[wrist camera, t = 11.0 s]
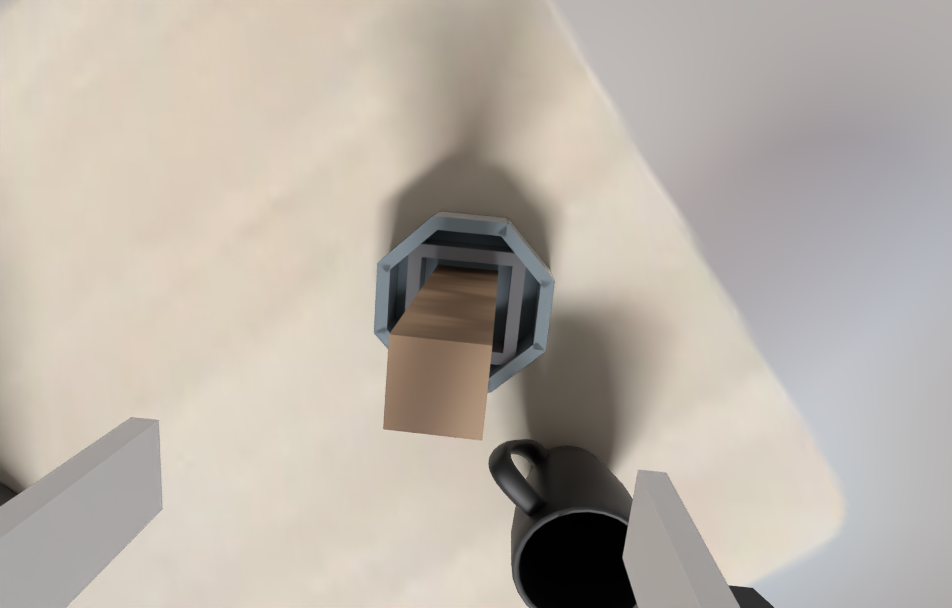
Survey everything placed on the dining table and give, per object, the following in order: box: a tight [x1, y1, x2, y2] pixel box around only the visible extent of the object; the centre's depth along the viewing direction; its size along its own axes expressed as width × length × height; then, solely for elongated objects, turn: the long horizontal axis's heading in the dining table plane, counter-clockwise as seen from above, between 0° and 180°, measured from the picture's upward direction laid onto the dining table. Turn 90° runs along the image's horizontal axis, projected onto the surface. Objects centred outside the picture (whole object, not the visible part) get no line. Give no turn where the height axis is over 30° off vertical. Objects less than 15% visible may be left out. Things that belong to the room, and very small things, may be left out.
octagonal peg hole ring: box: [374, 211, 555, 393], centre depth 37 cm, size 11×11×4 cm
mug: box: [489, 439, 638, 608], centre depth 37 cm, size 8×12×10 cm
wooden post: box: [383, 265, 498, 440], centre depth 30 cm, size 4×4×16 cm
